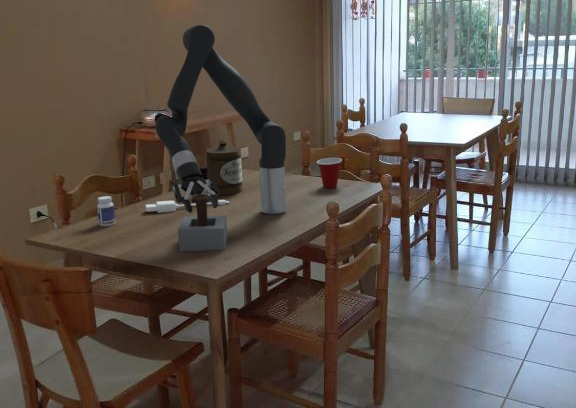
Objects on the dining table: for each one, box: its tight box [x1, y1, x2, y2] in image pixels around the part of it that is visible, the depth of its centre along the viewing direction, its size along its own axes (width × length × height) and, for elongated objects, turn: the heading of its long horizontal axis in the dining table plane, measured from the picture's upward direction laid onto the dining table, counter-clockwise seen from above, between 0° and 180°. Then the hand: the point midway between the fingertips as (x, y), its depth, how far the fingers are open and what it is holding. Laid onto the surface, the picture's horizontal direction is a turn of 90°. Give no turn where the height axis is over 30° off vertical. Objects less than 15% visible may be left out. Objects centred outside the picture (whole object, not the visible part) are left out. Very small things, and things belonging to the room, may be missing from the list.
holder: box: [177, 214, 228, 252], centre depth 193 cm, size 14×14×7 cm
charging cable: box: [145, 199, 230, 214], centre depth 234 cm, size 5×32×3 cm, turn 109°
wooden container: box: [205, 139, 243, 196], centre depth 256 cm, size 15×15×22 cm
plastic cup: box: [316, 157, 343, 189], centre depth 259 cm, size 11×11×12 cm
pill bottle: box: [96, 195, 117, 227], centre depth 215 cm, size 6×6×10 cm
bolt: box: [191, 194, 211, 226], centre depth 191 cm, size 6×5×15 cm
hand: (203, 209), depth 189 cm, fingers open, 8 cm apart
